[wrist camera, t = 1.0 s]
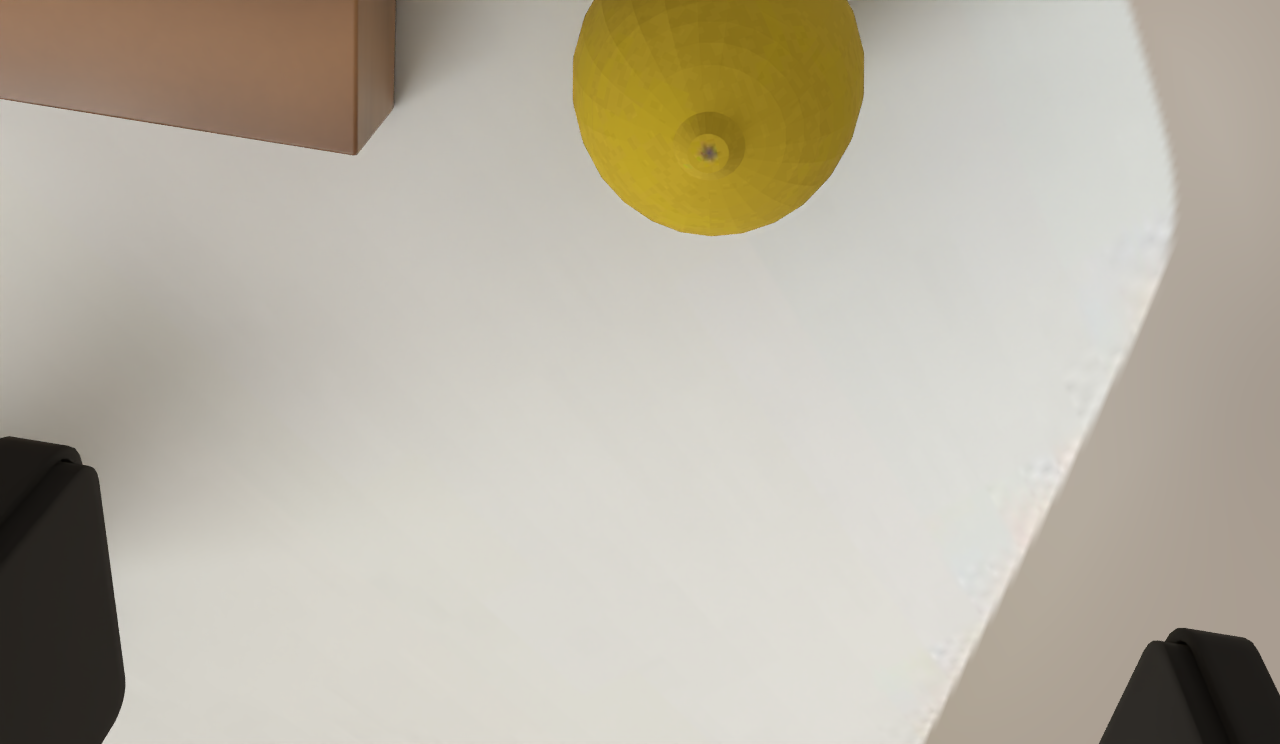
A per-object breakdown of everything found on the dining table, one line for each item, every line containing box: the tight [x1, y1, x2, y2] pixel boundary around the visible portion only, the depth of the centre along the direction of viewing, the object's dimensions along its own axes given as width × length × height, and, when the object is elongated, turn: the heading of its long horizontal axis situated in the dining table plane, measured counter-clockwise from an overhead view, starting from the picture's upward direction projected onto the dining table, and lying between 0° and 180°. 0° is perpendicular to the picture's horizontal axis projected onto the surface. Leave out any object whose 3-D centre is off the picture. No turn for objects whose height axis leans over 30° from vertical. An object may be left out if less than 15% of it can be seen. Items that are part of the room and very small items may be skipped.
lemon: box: [573, 0, 864, 236], centre depth 23 cm, size 6×6×8 cm
